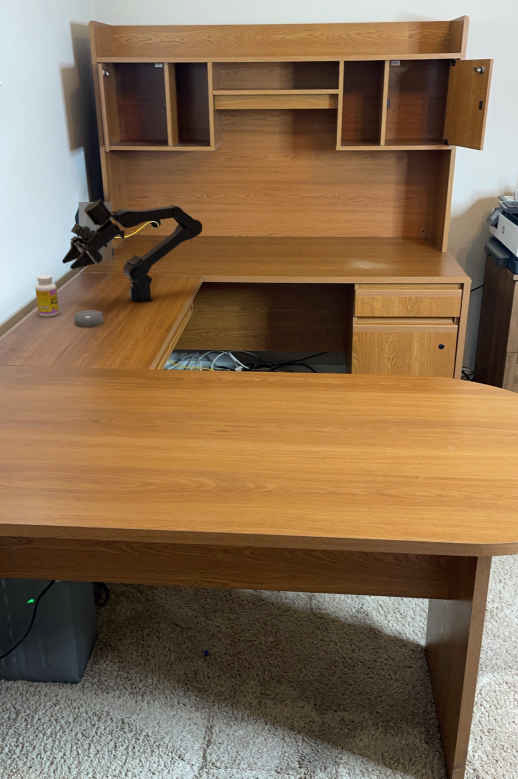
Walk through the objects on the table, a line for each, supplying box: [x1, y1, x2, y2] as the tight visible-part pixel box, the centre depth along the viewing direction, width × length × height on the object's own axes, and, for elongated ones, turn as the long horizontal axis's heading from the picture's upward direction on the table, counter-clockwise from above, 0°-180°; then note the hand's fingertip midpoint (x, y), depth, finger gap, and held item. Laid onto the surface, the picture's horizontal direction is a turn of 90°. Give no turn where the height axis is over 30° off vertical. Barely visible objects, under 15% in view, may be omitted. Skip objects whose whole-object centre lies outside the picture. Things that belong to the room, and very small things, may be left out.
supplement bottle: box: [35, 274, 60, 318], centre depth 235 cm, size 7×7×13 cm
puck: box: [73, 309, 104, 328], centre depth 228 cm, size 9×9×3 cm
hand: (66, 265), depth 235 cm, fingers open, 9 cm apart
